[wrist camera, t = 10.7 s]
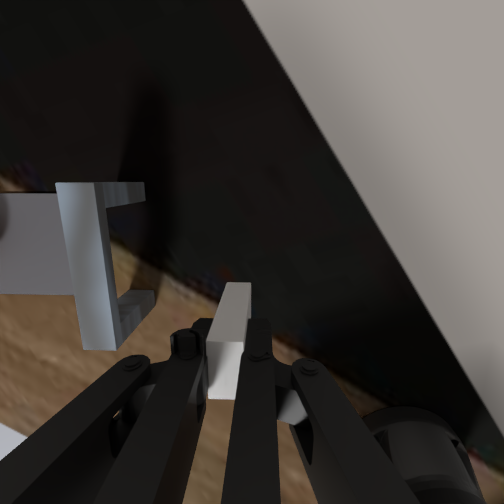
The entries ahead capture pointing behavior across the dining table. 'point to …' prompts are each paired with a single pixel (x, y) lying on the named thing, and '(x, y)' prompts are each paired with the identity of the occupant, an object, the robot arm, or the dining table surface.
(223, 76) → the dining table surface
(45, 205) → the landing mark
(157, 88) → the dining table surface
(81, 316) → the bridge
